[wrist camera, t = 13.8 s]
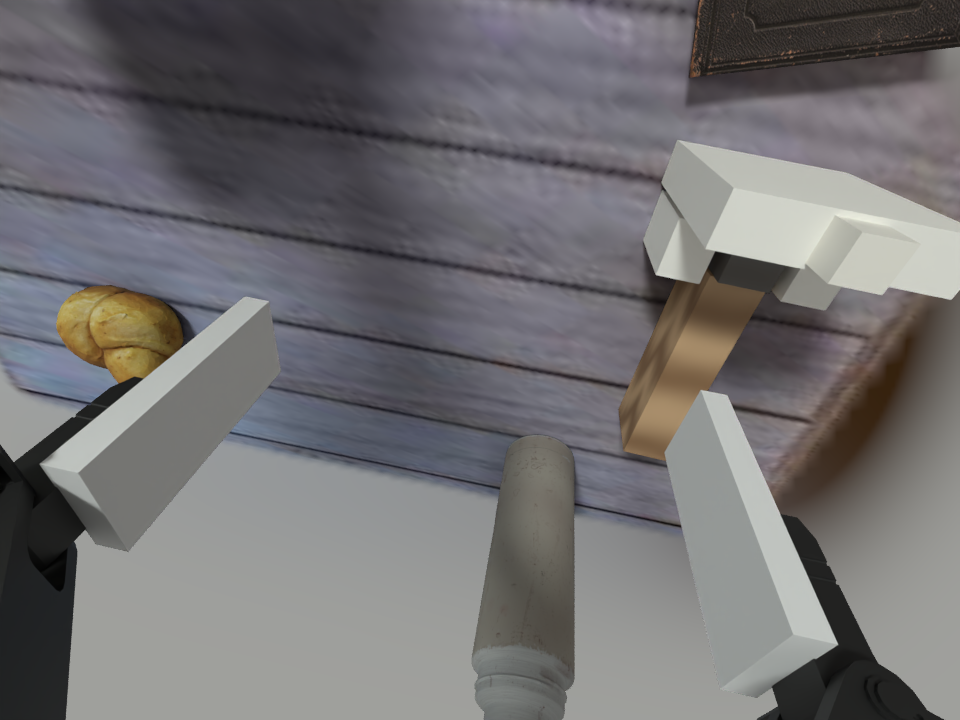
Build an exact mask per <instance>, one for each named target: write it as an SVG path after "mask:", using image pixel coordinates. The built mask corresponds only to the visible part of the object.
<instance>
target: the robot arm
mask: <svg viewBox="0 0 960 720" xmlns="http://www.w3.org/2000/svg"><path fill="white" fill-rule="evenodd" d="M280 372H281V369H280V363H279V357H278V351H277V346H276V340H275V334H274V328H273V322H272V316H271V311H270V305H269V301H264V300H259V299H254V298H250V297H244V298H242V299H241V300H240V301H239V302H238V303H236V304H235V305H234V306H233V307H231V308H230V309H229V310H228V311H226V312H225V313H224V314H223V315H222V316H220V317H219V318H218V319H217V320H215V321H214V322H213V323H212V324H211V325H209V326H208V327H207V328H206V329H204V330H203V331H202V332H201V333H199V334H198V335H197V336H196V337H195V338H193V339H192V340H191V341H190V342H188V343H187V344H186V345H185V346H184V347H182V348H181V349H180V350H179V351H177V352H176V353H175V354H174V355H172V356H171V357H170V358H169V359H168V360H166V361H165V362H164V363H163V364H161V365H160V366H159V367H158V368H157V369H155V370H154V371H153V372H152V373H150V374H149V375H148V376H147V377H146V378H139V377H135V376H134V377H132V378H130V379H128V380H126V381H123V382H121V383H119V384H117V385H115V386H113V387H110V388H109V389H108V390H107V391H105V392H104V393H103V394H101V395H100V396H99V397H98V398H96V399H95V400H94V401H92V402H91V405H90V406H89V405H87V406H86V407H85V408H83V409H82V410H81V411H79V412H78V413H77V414H76V417H75V418H73V417H72V418H70V419H69V420H68V421H67V422H65V423H64V424H63V425H61V426H60V427H59V428H57V429H56V430H55V431H54V432H52V433H51V434H50V435H48V436H47V437H46V438H45V439H43V440H42V441H41V442H39V443H38V444H37V445H36V446H34V447H33V448H32V449H30V450H29V451H28V452H26V453H25V454H24V455H23V456H21V457H20V458H19V459H17V460H16V461H15V462H13V461H12V460H11V458H10V457H9V456H8V454H7V453H6V452H5V450H4V449H3V448H2V446H1V445H0V720H65V719H66V706H67V692H68V678H69V663H70V650H71V636H72V621H73V607H74V591H75V579H76V565H77V548H76V544H75V543H74V541H75V540H76V539H77V537H78V536H79V535H80V534H81V533H82V532H83V531H84V530H86V531H87V532H88V534H89V535H90V537H91V538H92V539H93V541H94V542H95V544H97V545H102V546H106V547H111V548H115V549H119V550H123V551H127V552H128V551H129V550H130V549H131V548H132V547H133V546H134V544H135V543H136V542H137V541H138V540H139V539H140V537H141V536H142V535H143V534H144V533H145V531H146V530H147V529H148V528H149V527H150V526H151V524H152V523H153V522H154V521H155V520H156V518H157V517H158V516H159V515H160V514H161V513H162V511H163V510H164V509H165V508H166V507H167V505H168V504H169V503H170V502H171V501H172V500H173V498H174V497H175V496H176V495H177V493H178V492H179V491H180V490H181V489H182V488H183V487H184V485H185V484H186V483H187V482H188V481H189V479H190V478H191V477H192V476H193V475H194V474H195V472H196V471H197V470H198V469H199V468H200V466H201V465H202V464H203V463H204V462H205V461H206V459H207V458H208V457H209V456H210V455H211V453H212V452H213V451H214V450H215V449H216V448H217V446H218V445H219V444H220V443H221V442H222V441H223V439H224V438H225V437H226V436H227V435H228V433H229V432H230V431H231V430H232V429H233V428H234V426H235V425H236V424H237V423H238V422H239V420H240V419H241V418H242V417H243V416H244V415H245V413H246V412H247V411H248V410H249V409H250V407H251V406H252V405H253V404H254V403H255V402H256V400H257V399H258V398H259V397H260V396H261V394H262V393H263V392H264V391H265V390H266V389H267V387H268V386H269V385H270V384H271V383H272V381H273V380H274V379H275V378H276V377H277V376H278V374H279V373H280ZM664 453H665V457H666V462H667V466H668V470H669V475H670V479H671V483H672V487H673V492H674V496H675V500H676V504H677V509H678V513H679V517H680V522H681V526H682V530H683V534H684V539H685V543H686V547H687V551H688V556H689V560H690V564H691V568H692V572H693V577H694V581H695V586H696V590H697V594H698V598H699V603H700V607H701V611H702V615H703V620H704V624H705V628H706V632H707V637H708V641H709V645H710V649H711V654H712V658H713V662H714V667H715V671H716V675H717V679H718V684H719V688H720V689H721V690H725V691H729V692H734V693H738V694H742V695H746V696H751V697H755V698H757V697H759V696H760V695H762V694H763V693H765V692H766V691H768V690H769V689H771V688H773V692H774V695H775V698H776V701H777V704H778V707H776V708H774V709H773V710H771V711H769V712H768V713H766V714H764V715H763V716H761V717H759V718H758V719H757V720H944V719H941V718H940V717H938V716H936V715H934V714H933V713H931V712H929V711H927V710H926V708H925V707H924V705H923V704H922V702H921V701H920V700H919V698H918V697H917V696H916V694H915V693H914V692H913V690H912V689H910V687H908V686H907V685H906V684H905V683H904V682H903V681H902V680H901V679H900V678H899V677H898V676H897V675H895V674H894V673H892V672H891V671H889V670H888V669H886V668H884V667H883V666H881V665H879V664H878V662H877V661H876V659H875V657H874V655H873V654H872V652H871V650H870V647H869V646H868V643H867V642H866V639H865V637H864V635H863V633H862V631H861V629H860V627H859V625H858V623H857V621H856V619H855V617H854V615H853V613H852V611H851V609H850V607H849V605H848V603H847V601H846V599H845V597H844V595H843V593H842V591H841V589H840V587H839V585H836V579H835V577H834V575H833V573H832V571H831V569H830V567H829V566H827V564H826V563H827V561H826V559H825V556H824V554H823V552H822V550H821V548H820V547H819V544H818V542H817V540H816V539H815V538H814V536H813V535H812V534H811V533H810V532H809V530H808V529H807V528H806V527H805V526H804V525H803V524H802V522H801V521H800V520H799V519H798V518H796V517H792V516H787V515H782V514H780V513H779V511H778V508H777V506H776V504H775V502H774V499H773V497H772V495H771V493H770V490H769V488H768V486H767V484H766V481H765V479H764V477H763V475H762V472H761V470H760V468H759V466H758V463H757V461H756V459H755V457H754V454H753V452H752V450H751V448H750V445H749V443H748V441H747V439H746V437H745V434H744V432H743V430H742V428H741V425H740V423H739V421H738V419H737V416H736V414H735V412H734V410H733V407H732V405H731V403H730V401H729V398H728V396H727V395H724V394H719V393H714V392H709V391H704V390H700V392H699V394H698V395H697V397H696V399H695V401H694V402H693V404H692V406H691V407H690V409H689V411H688V413H687V414H686V416H685V418H684V420H683V421H682V423H681V425H680V426H679V428H678V430H677V432H676V433H675V435H674V437H673V438H672V440H671V442H670V444H669V445H668V447H667V449H666V451H665V452H664Z"/></svg>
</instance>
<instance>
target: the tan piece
mask: <svg viewBox="0 0 960 720" xmlns="http://www.w3.org/2000/svg"><path fill="white" fill-rule="evenodd" d="M785 267H786V266H785V265H780V264H776V263H771V262H766V261H761V260H756V259H751V258H747V257H742V256H737V255H732V254H727V253H722V252H718V251H715V253H714V255H713V257H712V259H711V261H710V263H709V265H708V267H707V269H706V271H705V274H704V276H703V278H702V280H701V282H700V284H696V283H691V282H686V281H682V280H676V282H675V285H674V287H673V289H672V291H671V293H670V296H669V298H668V300H667V302H666V305H665V307H664V309H663V311H662V314H661V316H660V318H659V320H658V322H657V325H656V327H655V329H654V331H653V334H652V336H651V338H650V340H649V343H648V345H647V347H646V349H645V351H644V354H643V356H642V358H641V360H640V363H639V365H638V367H637V369H636V371H635V374H634V376H633V378H632V380H631V383H630V385H629V387H628V389H627V392H626V394H625V396H624V398H623V400H622V403H621V405H620V407H619V417H620V425H621V434H622V442H623V450H624V451H626V452H630V453H634V454H638V455H643V456H647V457H651V458H656V459H660V460H664V461H666V457H665V453H664V452H665V451H666V449H667V447H668V445H669V444H670V442H671V440H672V438H673V437H674V435H675V433H676V432H677V430H678V428H679V426H680V425H681V423H682V421H683V420H684V418H685V416H686V414H687V413H688V411H689V409H690V407H691V406H692V404H693V402H694V401H695V399H696V397H697V395H698V394H699V392H700V390H704V391H708V389H709V388H710V386H711V384H712V382H713V381H714V379H715V377H716V376H717V374H718V372H719V371H720V369H721V367H722V365H723V364H724V362H725V360H726V359H727V357H728V355H729V354H730V352H731V350H732V348H733V347H734V345H735V343H736V342H737V340H738V338H739V337H740V335H741V333H742V331H743V330H744V328H745V326H746V325H747V323H748V321H749V320H750V318H751V316H752V314H753V313H754V311H755V309H756V308H757V306H758V304H759V302H760V301H761V299H762V297H763V296H764V294H765V293H770V292H771V290H772V288H773V287H774V285H775V283H776V282H777V280H778V278H779V277H780V275H781V273H782V272H783V270H784V268H785Z"/></svg>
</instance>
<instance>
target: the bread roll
mask: <svg viewBox="0 0 960 720" xmlns="http://www.w3.org/2000/svg"><path fill="white" fill-rule="evenodd" d="M56 324H57V331H58V333H59V335H60V337H61V338H62V340H63V342H64V343H65V345H66V347H67V348H68V349H69V350H70V351H71V352H73V353H74V354H75V355H77V356H78V357H80V358H81V359H82V360H84V361H86V362H88V363H90V364H93V365H96V366H99V367H102V368H106V369H108V370H109V371H110V373H111V374H112V375H113V377H114V378H115V379H116V381H117V382H118V383H121V382H123V381H126V380H128V379H130V378H132V377H134V376H135V377H139V378H146V377H147V376H148V375H149V374H150V373H152V372H153V371H154V370H155V369H157V368H158V367H159V366H160V365H161V364H163V363H164V362H165V361H166V360H168V359H169V358H170V357H171V356H172V355H174V354H175V353H176V352H177V351H179V350H180V348H181V346H182V343H183V334H182V328H181V324H180V322H179V320H178V318H177V316H176V314H175V313H174V312H173V311H172V309H171V308H170V307H169V306H167V305H166V304H165V303H164V302H162V301H160V300H158V299H156V298H154V297H152V296H149V295H146V294H142V293H135V292H133V291H130V290H127V289H125V288H120V287H115V286H112V285H106V286H95V287H87V288H85V289H84V290H82V291H80V292H76V293H75V294H72V295H71V296H70V297H69V298H68V299H67V300H66V301H65V302H64V304H63V305H62V306H61V309H60V311H59V314H58V318H57V323H56Z"/></svg>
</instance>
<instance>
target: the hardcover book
mask: <svg viewBox="0 0 960 720" xmlns="http://www.w3.org/2000/svg"><path fill="white" fill-rule="evenodd" d="M953 47H960V0H699V2H698V10H697V18H696V25H695V33H694V41H693V49H692V57H691V65H690V73H689V77H699V76H707V75H716V74H725V73H734V72H743V71H751V70H760V69H769V68H778V67H787V66H795V65H804V64H813V63H822V62H830V61H839V60H848V59H857V58H866V57H874V56H883V55H892V54H901V53H909V52H918V51H927V50H936V49H945V48H953Z"/></svg>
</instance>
